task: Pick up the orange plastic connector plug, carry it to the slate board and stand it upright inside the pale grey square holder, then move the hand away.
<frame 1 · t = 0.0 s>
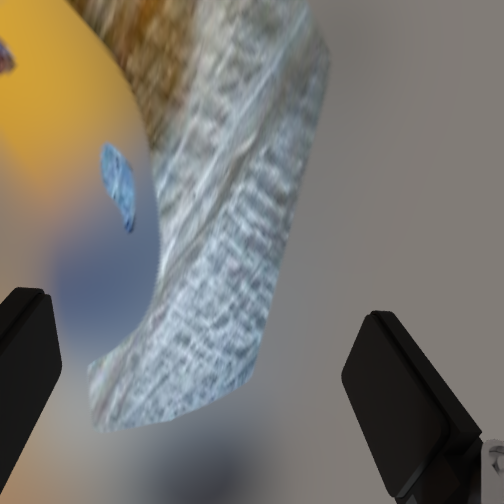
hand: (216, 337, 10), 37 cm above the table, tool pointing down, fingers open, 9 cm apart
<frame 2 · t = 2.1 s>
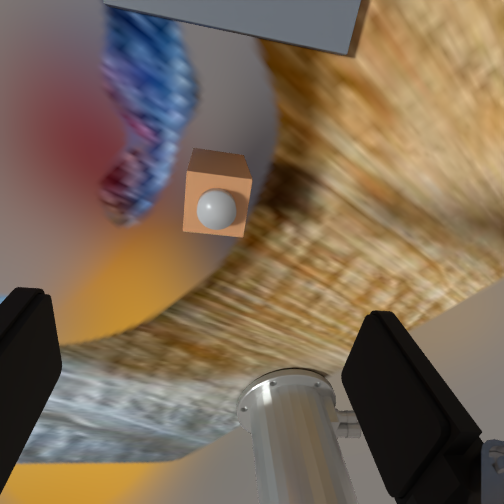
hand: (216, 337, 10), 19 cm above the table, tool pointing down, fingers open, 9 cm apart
connector plug: (216, 176, 27), on the table
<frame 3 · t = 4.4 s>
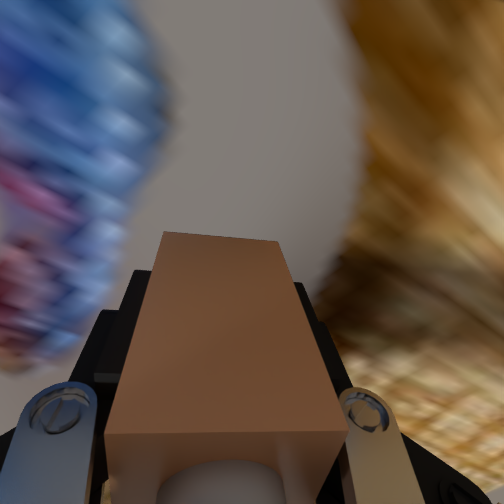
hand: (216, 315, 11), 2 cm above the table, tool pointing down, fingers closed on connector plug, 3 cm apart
connector plug: (216, 283, 12), on the table, touching gripper
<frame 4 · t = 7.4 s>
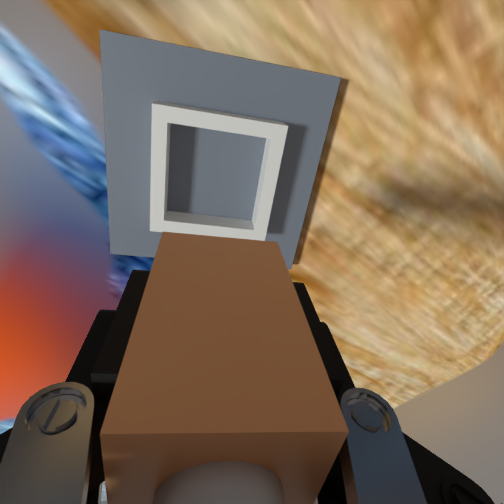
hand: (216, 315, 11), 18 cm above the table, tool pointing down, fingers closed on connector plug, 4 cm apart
connector plug: (216, 284, 12), point 16 cm above the table, touching gripper
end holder: (214, 170, 26), on the table
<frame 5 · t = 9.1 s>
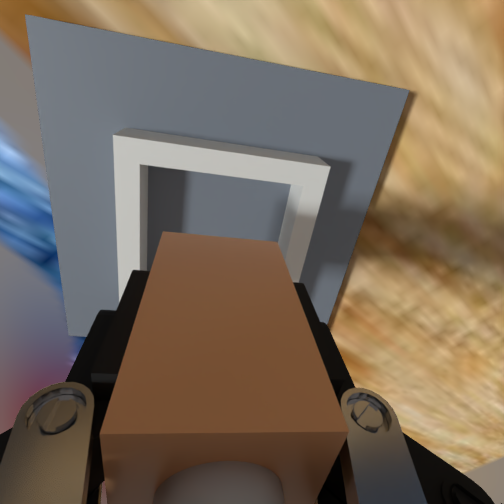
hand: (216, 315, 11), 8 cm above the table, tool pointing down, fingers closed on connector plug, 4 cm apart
connector plug: (216, 283, 12), point 6 cm above the table, touching gripper
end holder: (215, 222, 18), on the table
when the fingers open (4 cm above the table, at t = 10.7 s): connector plug drops 1 cm, resting on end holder.
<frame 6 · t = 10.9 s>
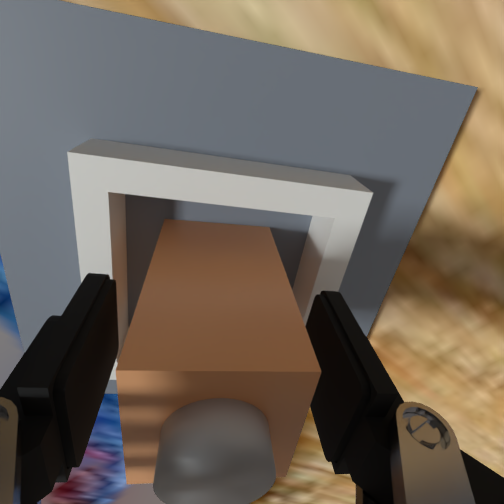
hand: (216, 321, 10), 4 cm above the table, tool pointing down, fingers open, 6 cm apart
connector plug: (214, 267, 13), point 1 cm above the table, touching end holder
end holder: (215, 255, 14), on the table
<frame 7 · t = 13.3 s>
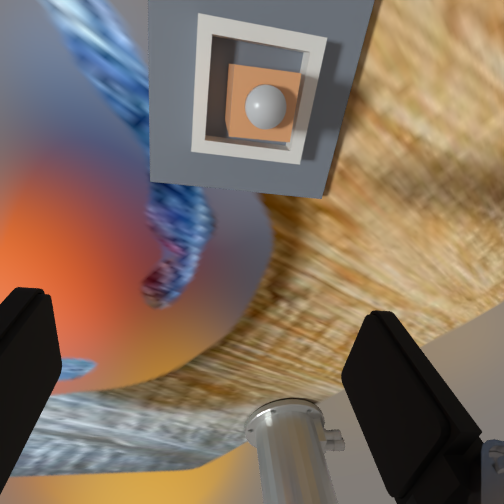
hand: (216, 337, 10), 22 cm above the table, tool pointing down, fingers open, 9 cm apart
connector plug: (251, 95, 26), point 1 cm above the table, touching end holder
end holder: (250, 94, 27), on the table
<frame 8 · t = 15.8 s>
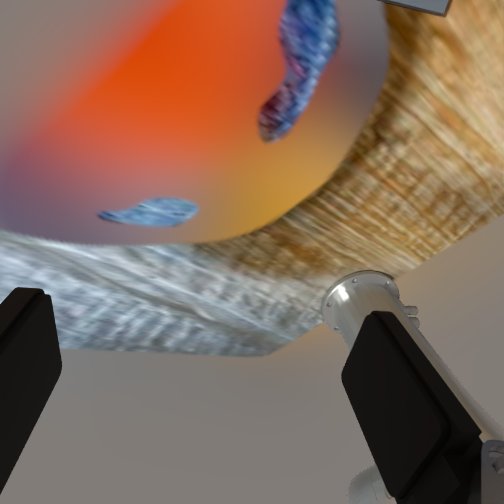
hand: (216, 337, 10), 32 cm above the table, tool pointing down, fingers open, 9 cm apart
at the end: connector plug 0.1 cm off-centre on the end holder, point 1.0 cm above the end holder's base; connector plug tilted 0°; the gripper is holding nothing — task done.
